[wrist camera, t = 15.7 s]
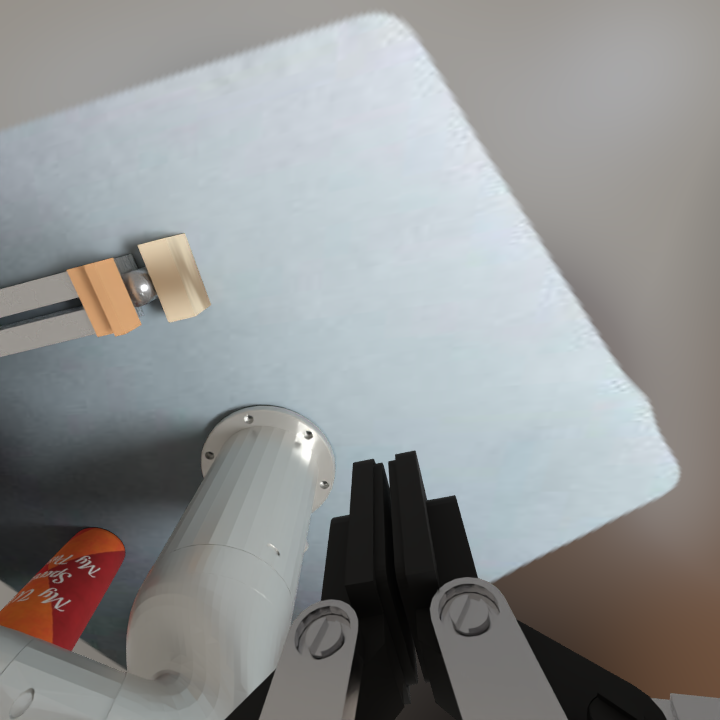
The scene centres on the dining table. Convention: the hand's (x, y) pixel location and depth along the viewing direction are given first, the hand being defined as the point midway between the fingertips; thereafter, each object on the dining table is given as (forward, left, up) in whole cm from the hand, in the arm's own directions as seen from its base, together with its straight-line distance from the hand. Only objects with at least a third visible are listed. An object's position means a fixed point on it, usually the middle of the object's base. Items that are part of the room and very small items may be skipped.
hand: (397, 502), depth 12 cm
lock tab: (+5, +20, -23) cm, 31 cm away
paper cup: (-20, +35, -27) cm, 49 cm away
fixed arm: (+4, +28, -27) cm, 39 cm away
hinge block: (+5, +15, -27) cm, 31 cm away
